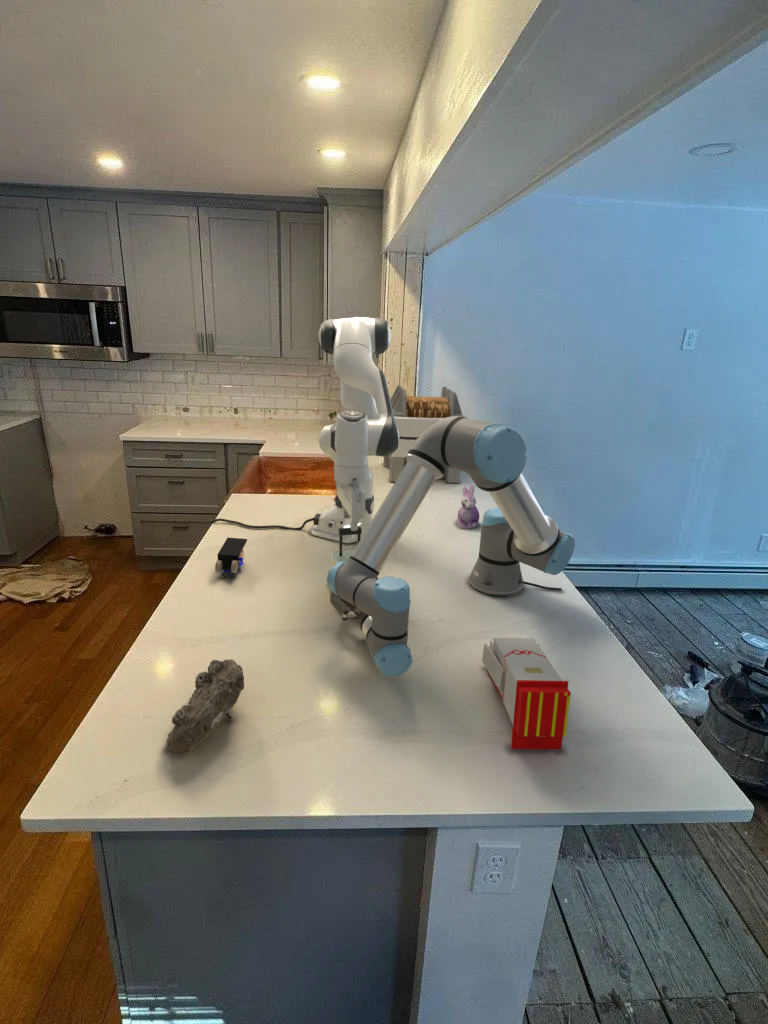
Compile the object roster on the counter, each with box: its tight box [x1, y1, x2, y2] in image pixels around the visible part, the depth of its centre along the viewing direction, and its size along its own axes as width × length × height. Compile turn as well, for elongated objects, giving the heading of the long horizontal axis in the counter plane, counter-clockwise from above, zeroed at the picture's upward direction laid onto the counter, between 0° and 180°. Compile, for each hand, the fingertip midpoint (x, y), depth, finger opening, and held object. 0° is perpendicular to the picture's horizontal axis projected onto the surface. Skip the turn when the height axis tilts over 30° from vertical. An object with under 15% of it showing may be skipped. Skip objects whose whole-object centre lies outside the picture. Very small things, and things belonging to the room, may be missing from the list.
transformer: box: [383, 384, 463, 484], centre depth 268 cm, size 34×33×41 cm
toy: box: [481, 636, 572, 751], centre depth 115 cm, size 12×13×30 cm
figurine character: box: [214, 537, 248, 578], centre depth 166 cm, size 7×8×15 cm
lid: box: [330, 527, 362, 565], centre depth 150 cm, size 16×9×9 cm, turn 15°
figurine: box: [456, 484, 480, 530], centre depth 209 cm, size 9×10×15 cm
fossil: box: [166, 658, 245, 754], centre depth 106 cm, size 22×10×15 cm
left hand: (350, 523), depth 153 cm, fingers open, 8 cm apart
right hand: (356, 581), depth 149 cm, fingers closed on chest, 9 cm apart
